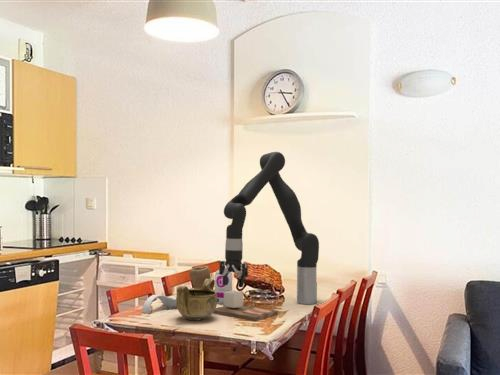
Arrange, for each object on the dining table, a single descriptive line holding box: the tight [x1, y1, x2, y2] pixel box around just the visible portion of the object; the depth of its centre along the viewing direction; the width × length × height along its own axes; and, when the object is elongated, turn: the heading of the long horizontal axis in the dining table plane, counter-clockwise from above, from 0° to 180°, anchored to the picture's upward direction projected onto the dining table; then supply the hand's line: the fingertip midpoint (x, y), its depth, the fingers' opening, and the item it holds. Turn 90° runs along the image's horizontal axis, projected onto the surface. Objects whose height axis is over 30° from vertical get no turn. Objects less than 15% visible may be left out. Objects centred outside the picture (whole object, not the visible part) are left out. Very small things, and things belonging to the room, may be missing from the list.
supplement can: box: [214, 269, 233, 305], centre depth 248 cm, size 8×8×15 cm
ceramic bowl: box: [175, 278, 218, 321], centre depth 215 cm, size 22×17×15 cm
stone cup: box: [189, 265, 215, 291], centre depth 264 cm, size 15×12×15 cm
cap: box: [223, 289, 244, 308], centre depth 229 cm, size 6×6×6 cm
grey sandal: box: [141, 294, 177, 314], centre depth 233 cm, size 24×12×7 cm, turn 147°
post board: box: [212, 304, 279, 322], centre depth 225 cm, size 16×24×8 cm, turn 53°
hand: (233, 286), depth 229 cm, fingers open, 8 cm apart
